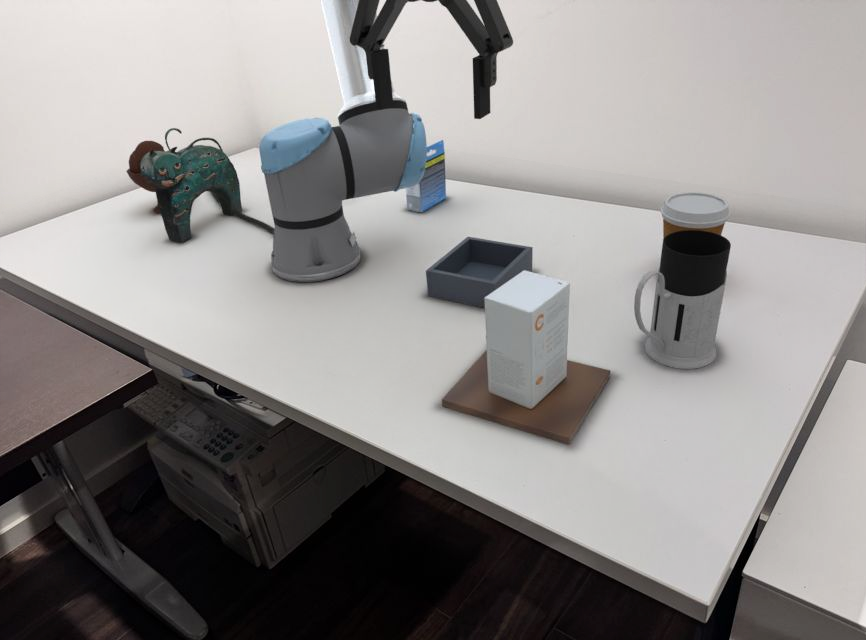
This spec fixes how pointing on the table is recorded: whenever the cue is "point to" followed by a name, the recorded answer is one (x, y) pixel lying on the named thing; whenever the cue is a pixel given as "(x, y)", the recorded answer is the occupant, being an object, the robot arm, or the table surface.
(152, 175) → the ceramic cat
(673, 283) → the glass holder
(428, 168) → the label tape box
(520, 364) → the small box
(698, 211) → the disposable coffee cup
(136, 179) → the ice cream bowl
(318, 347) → the table surface
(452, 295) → the bin
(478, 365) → the board
